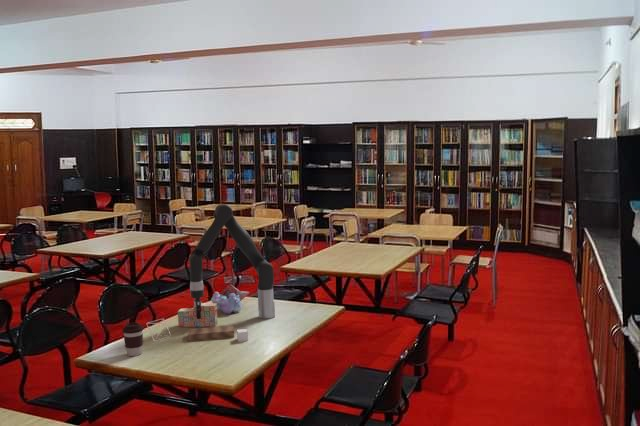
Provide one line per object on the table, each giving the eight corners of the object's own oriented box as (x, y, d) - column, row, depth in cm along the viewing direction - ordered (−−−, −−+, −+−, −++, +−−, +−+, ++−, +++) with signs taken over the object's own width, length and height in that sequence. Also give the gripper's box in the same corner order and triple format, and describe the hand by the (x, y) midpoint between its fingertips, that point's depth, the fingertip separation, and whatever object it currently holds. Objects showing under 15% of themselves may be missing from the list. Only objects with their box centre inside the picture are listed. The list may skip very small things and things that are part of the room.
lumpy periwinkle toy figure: (207, 308, 348) (221, 283, 347) (208, 298, 369) (222, 274, 368) (236, 323, 352) (250, 298, 351) (236, 312, 373) (250, 289, 372)
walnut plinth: (233, 332, 316) (233, 325, 316) (234, 338, 307) (234, 330, 306) (189, 336, 312) (188, 329, 312) (188, 342, 302) (187, 334, 302)
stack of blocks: (178, 327, 327) (177, 306, 326) (181, 324, 333) (180, 303, 332) (215, 326, 326) (214, 305, 325) (217, 323, 332) (216, 302, 331)
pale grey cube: (246, 338, 305) (246, 328, 304) (248, 340, 300) (247, 331, 300) (237, 339, 304) (236, 329, 303) (238, 341, 299) (238, 332, 298)
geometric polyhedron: (143, 338, 309) (142, 322, 308) (161, 333, 318) (160, 317, 317) (157, 342, 301) (156, 326, 300) (174, 337, 310) (173, 320, 309)
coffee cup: (128, 350, 290) (126, 321, 288) (147, 350, 290) (145, 321, 288) (120, 357, 280) (118, 327, 278) (140, 357, 280) (139, 327, 278)
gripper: (204, 290, 322) (206, 319, 323) (202, 285, 335) (203, 312, 337) (190, 292, 320) (192, 320, 321) (189, 286, 333) (190, 314, 335)
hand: (198, 316), depth 329 cm, fingers closed on stack of blocks, 7 cm apart
